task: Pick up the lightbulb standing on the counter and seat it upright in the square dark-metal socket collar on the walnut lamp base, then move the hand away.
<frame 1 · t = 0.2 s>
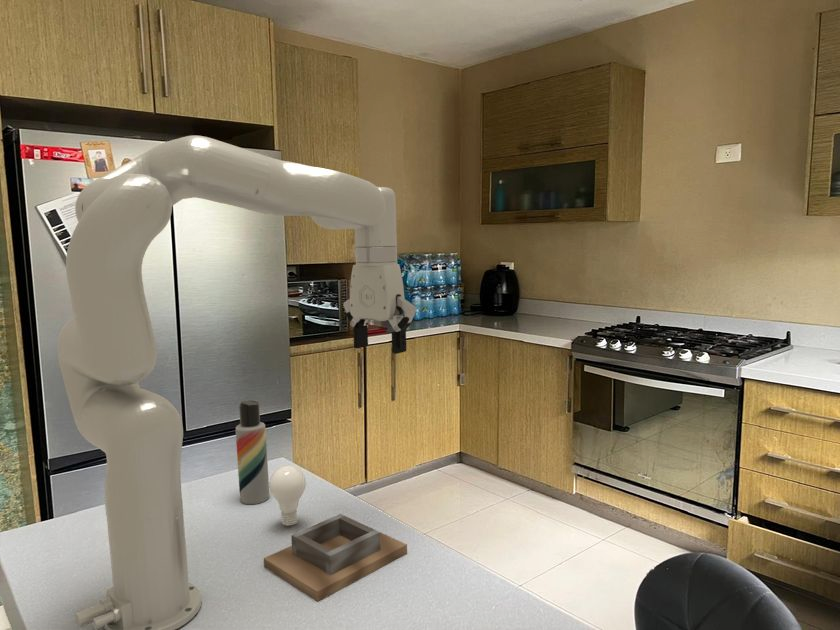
hand: (379, 349, 115), 31 cm above the countertop, tool pointing down, fingers open, 9 cm apart
lotion bottle: (255, 499, 124), on the countertop
lamp socket: (336, 559, 100), on the countertop
lightbulb: (289, 526, 113), on the countertop
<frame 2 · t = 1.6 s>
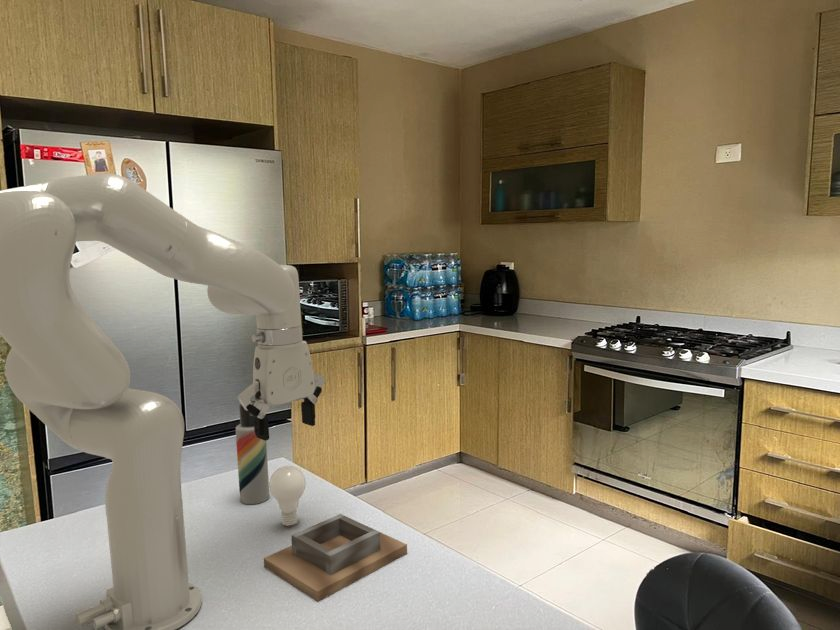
hand: (286, 431, 111), 17 cm above the countertop, tool pointing down, fingers open, 9 cm apart
nothing on the countertop moved.
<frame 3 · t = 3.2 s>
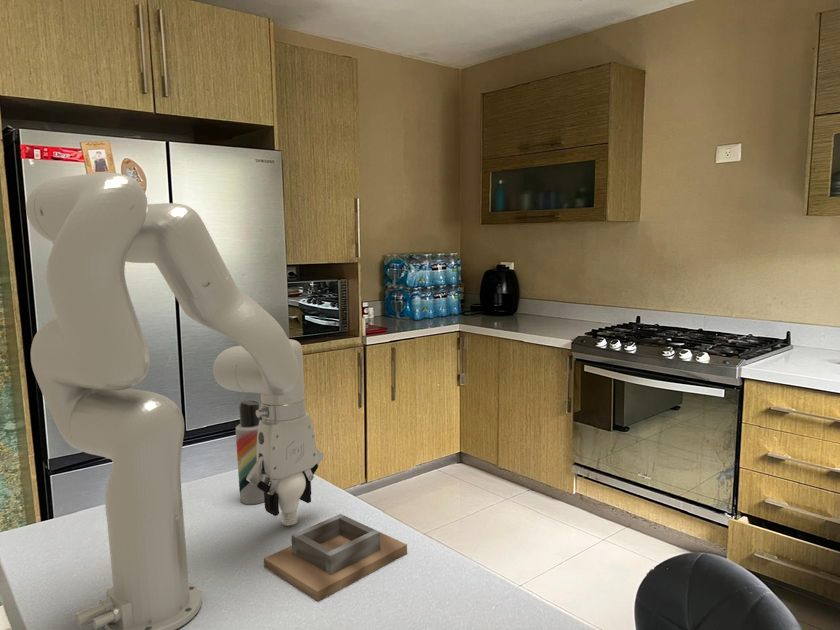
hand: (288, 506, 112), 4 cm above the countertop, tool pointing down, fingers closed on lightbulb, 6 cm apart
lightbulb: (289, 526, 113), on the countertop, touching gripper
everything else where it was.
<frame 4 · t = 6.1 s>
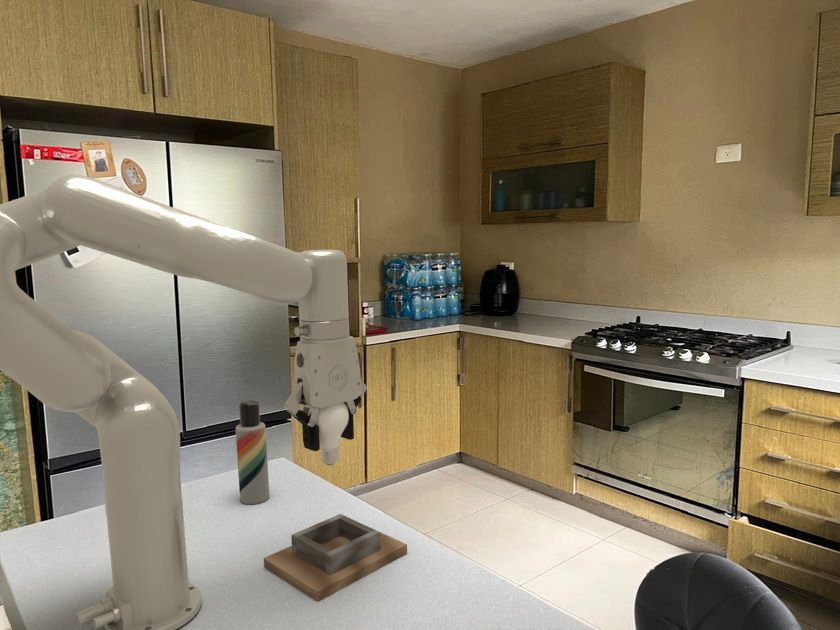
hand: (329, 442, 98), 19 cm above the countertop, tool pointing down, fingers closed on lightbulb, 6 cm apart
lightbulb: (330, 465, 98), point 16 cm above the countertop, touching gripper
everything else where it was.
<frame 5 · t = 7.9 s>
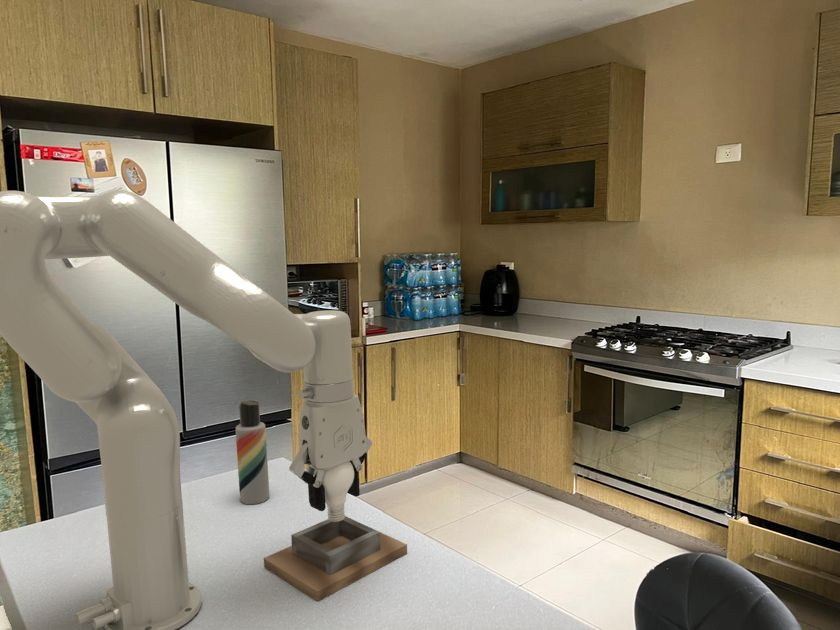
hand: (335, 500, 99), 10 cm above the countertop, tool pointing down, fingers closed on lightbulb, 6 cm apart
lightbulb: (336, 522, 99), point 6 cm above the countertop, touching gripper
everything else where it was.
when the fingers open (6 cm above the countertop, at t = 9.1 s): lightbulb drops 1 cm, resting on lamp socket.
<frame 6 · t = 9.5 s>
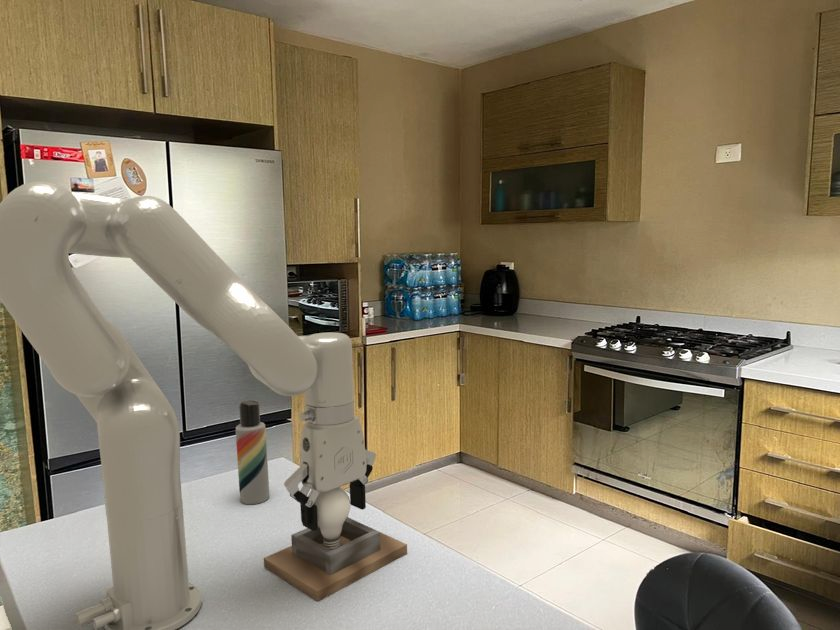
hand: (334, 516, 99), 7 cm above the countertop, tool pointing down, fingers open, 9 cm apart
lightbulb: (332, 554, 99), point 1 cm above the countertop, touching lamp socket
everything else where it was.
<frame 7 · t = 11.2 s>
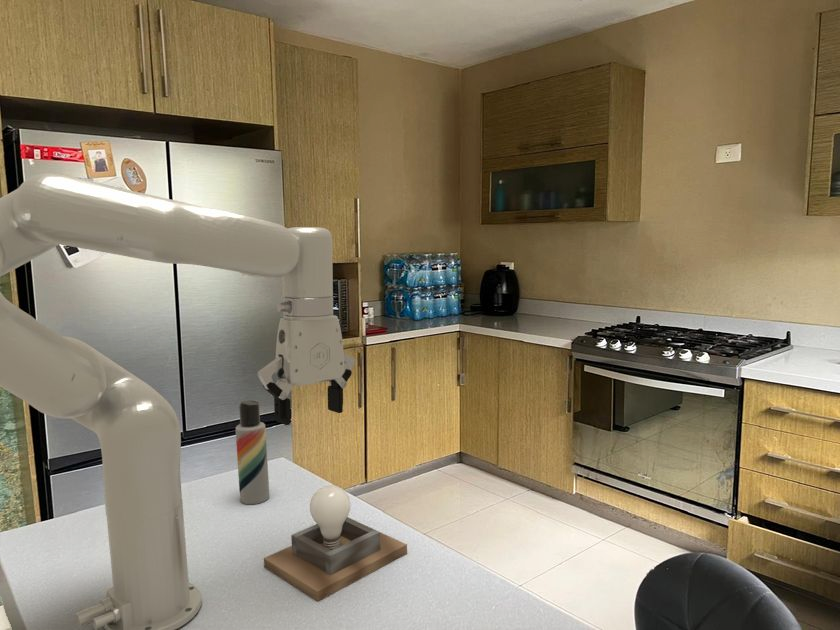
hand: (310, 417, 97), 24 cm above the countertop, tool pointing down, fingers open, 9 cm apart
nothing on the countertop moved.
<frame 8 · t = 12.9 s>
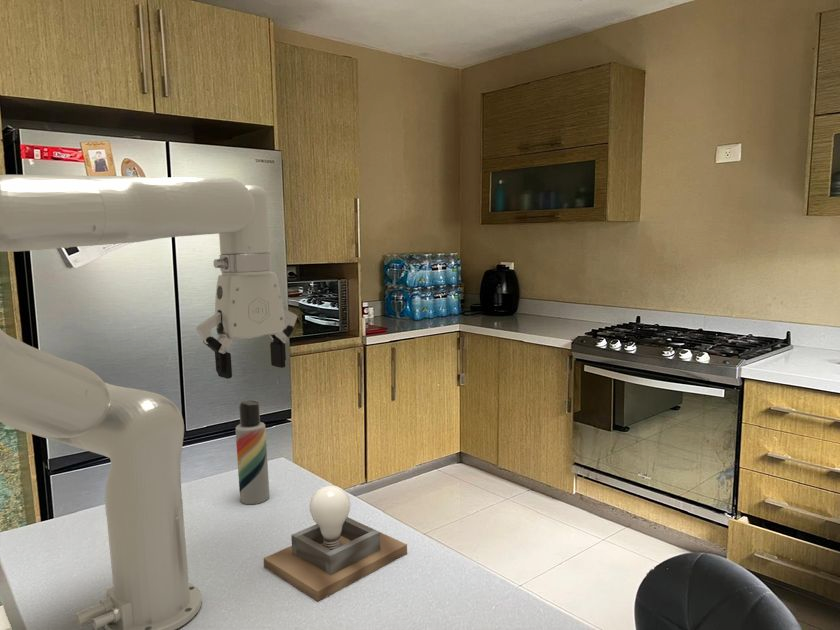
hand: (252, 371, 100), 30 cm above the countertop, tool pointing down, fingers open, 9 cm apart
nothing on the countertop moved.
at the end: lightbulb 0.8 cm off-centre on the lamp socket, point 1.3 cm above the lamp socket's base; lightbulb tilted 0°; the gripper is holding nothing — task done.
